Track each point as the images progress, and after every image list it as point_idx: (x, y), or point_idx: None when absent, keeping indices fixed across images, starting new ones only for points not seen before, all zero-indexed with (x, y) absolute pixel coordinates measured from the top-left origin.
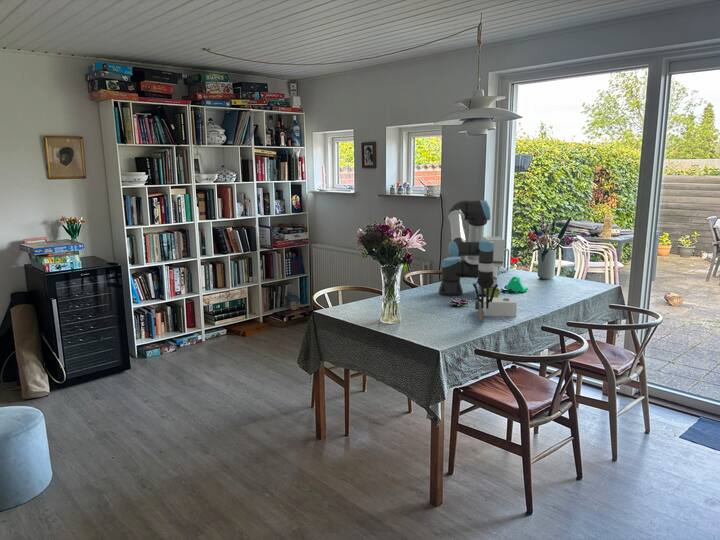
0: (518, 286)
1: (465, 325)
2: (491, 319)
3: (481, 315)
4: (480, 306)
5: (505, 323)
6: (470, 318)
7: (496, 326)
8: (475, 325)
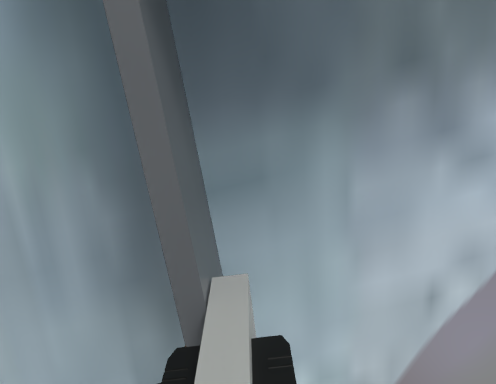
0: None
1: (69, 361)
2: (303, 93)
3: None
4: (139, 120)
5: (450, 202)
6: (65, 116)
7: (357, 318)
8: (160, 338)
